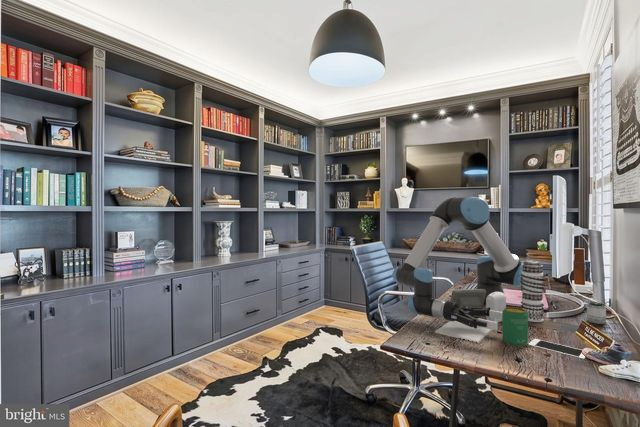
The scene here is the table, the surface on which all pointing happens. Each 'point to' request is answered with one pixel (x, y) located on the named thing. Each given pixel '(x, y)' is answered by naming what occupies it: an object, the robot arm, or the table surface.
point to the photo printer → (495, 304)
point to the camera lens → (596, 312)
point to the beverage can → (515, 326)
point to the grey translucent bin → (469, 297)
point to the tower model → (532, 290)
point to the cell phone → (557, 348)
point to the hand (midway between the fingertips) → (503, 321)
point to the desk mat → (463, 331)
